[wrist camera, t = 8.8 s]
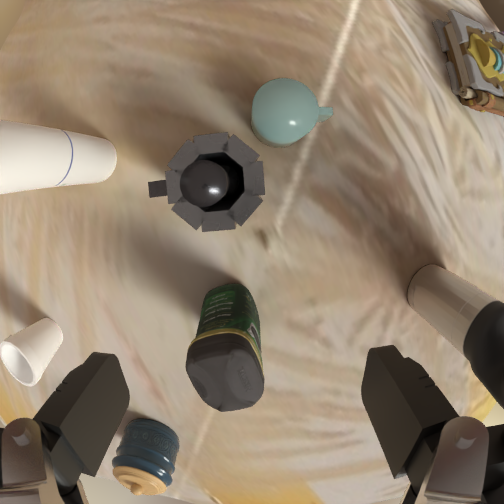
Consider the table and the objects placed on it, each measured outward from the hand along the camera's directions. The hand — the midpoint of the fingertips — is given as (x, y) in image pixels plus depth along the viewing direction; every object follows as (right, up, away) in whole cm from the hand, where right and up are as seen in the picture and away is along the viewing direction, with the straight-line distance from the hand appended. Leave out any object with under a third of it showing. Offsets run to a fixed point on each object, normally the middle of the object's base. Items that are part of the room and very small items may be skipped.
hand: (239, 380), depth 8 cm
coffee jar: (-3, -5, +37) cm, 38 cm away
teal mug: (+5, +22, +30) cm, 38 cm away
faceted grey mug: (-4, +14, +32) cm, 35 cm away
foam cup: (-40, -12, +38) cm, 57 cm away
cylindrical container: (-24, +18, +31) cm, 43 cm away
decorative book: (+49, +43, +26) cm, 70 cm away
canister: (-22, -38, +45) cm, 63 cm away
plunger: (-3, +13, +28) cm, 31 cm away
